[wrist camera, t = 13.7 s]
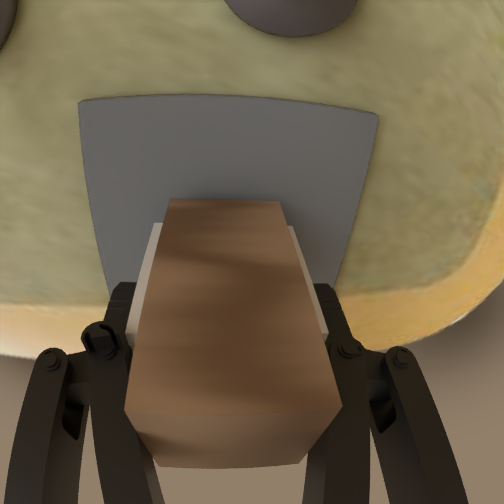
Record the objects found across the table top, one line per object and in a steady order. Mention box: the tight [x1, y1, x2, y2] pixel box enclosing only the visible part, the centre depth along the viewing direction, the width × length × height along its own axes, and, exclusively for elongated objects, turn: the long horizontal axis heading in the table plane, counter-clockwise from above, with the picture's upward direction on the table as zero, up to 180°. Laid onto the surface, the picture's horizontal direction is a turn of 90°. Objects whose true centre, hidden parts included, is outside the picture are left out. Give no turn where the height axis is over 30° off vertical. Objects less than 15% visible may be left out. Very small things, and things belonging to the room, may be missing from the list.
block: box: [124, 199, 342, 469], centre depth 12 cm, size 5×5×10 cm
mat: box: [78, 94, 379, 297], centre depth 17 cm, size 14×14×1 cm
